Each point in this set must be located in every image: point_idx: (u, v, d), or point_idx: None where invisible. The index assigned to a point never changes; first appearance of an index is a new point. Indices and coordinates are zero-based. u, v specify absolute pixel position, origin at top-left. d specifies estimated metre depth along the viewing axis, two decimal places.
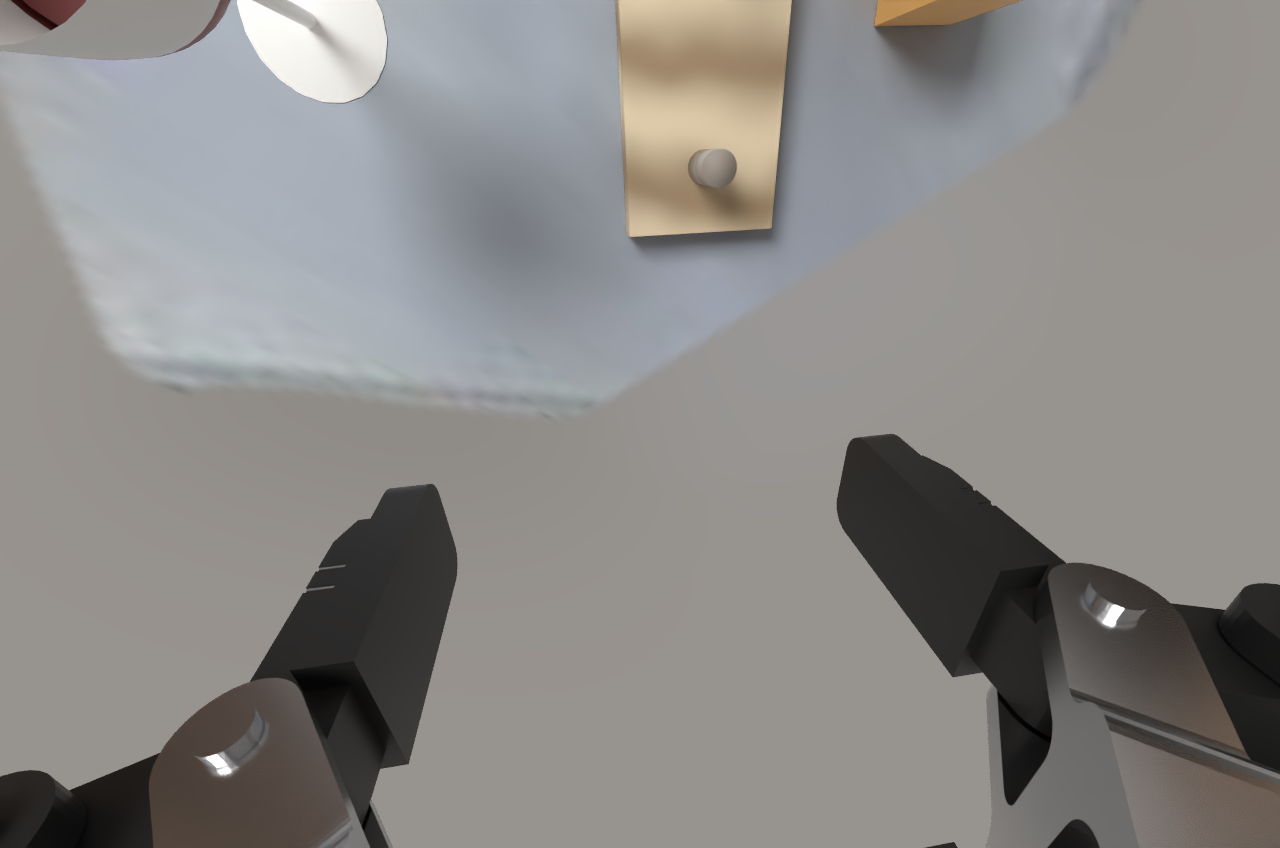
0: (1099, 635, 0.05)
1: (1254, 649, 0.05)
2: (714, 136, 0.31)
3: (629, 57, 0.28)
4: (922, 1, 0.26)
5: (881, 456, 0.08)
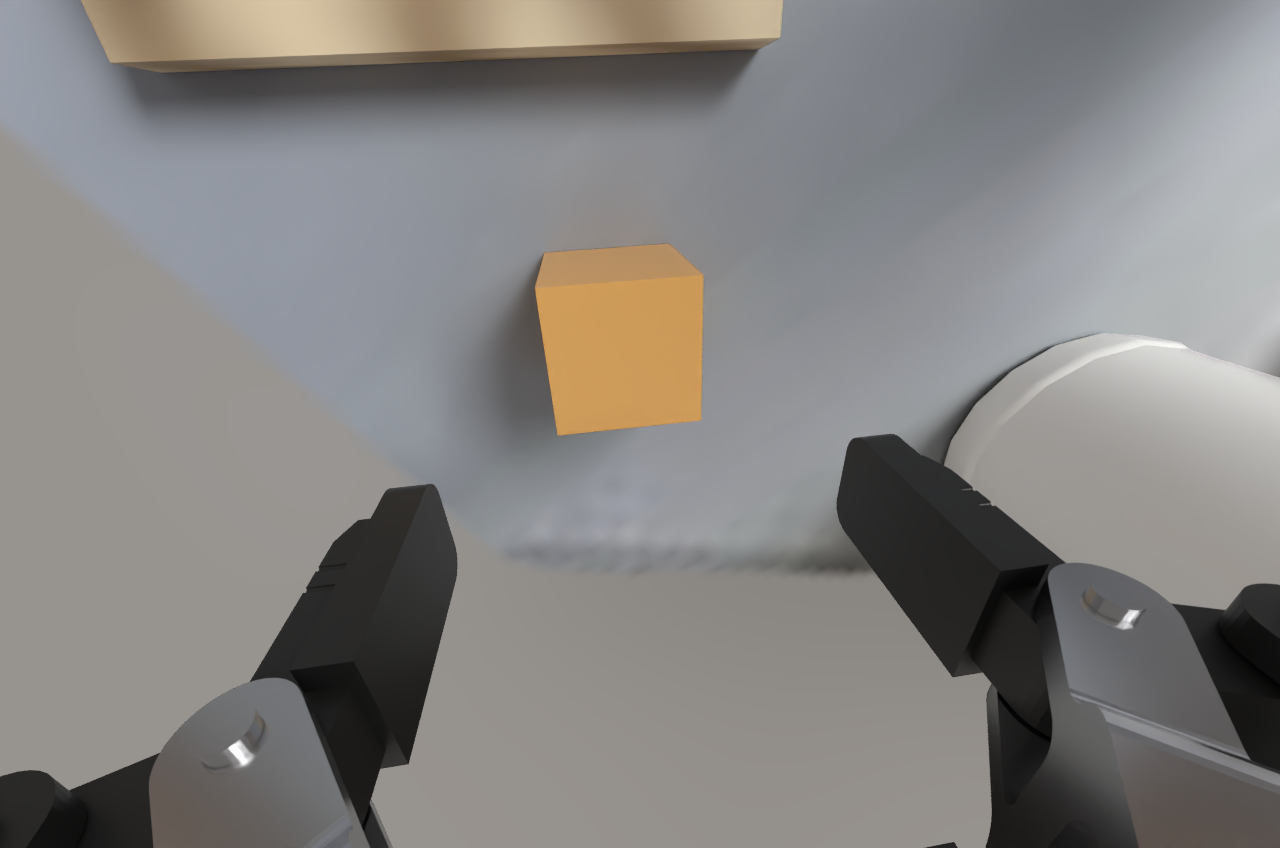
0: (1099, 635, 0.05)
1: (1253, 649, 0.05)
2: None
3: None
4: (543, 278, 0.16)
5: (881, 456, 0.08)
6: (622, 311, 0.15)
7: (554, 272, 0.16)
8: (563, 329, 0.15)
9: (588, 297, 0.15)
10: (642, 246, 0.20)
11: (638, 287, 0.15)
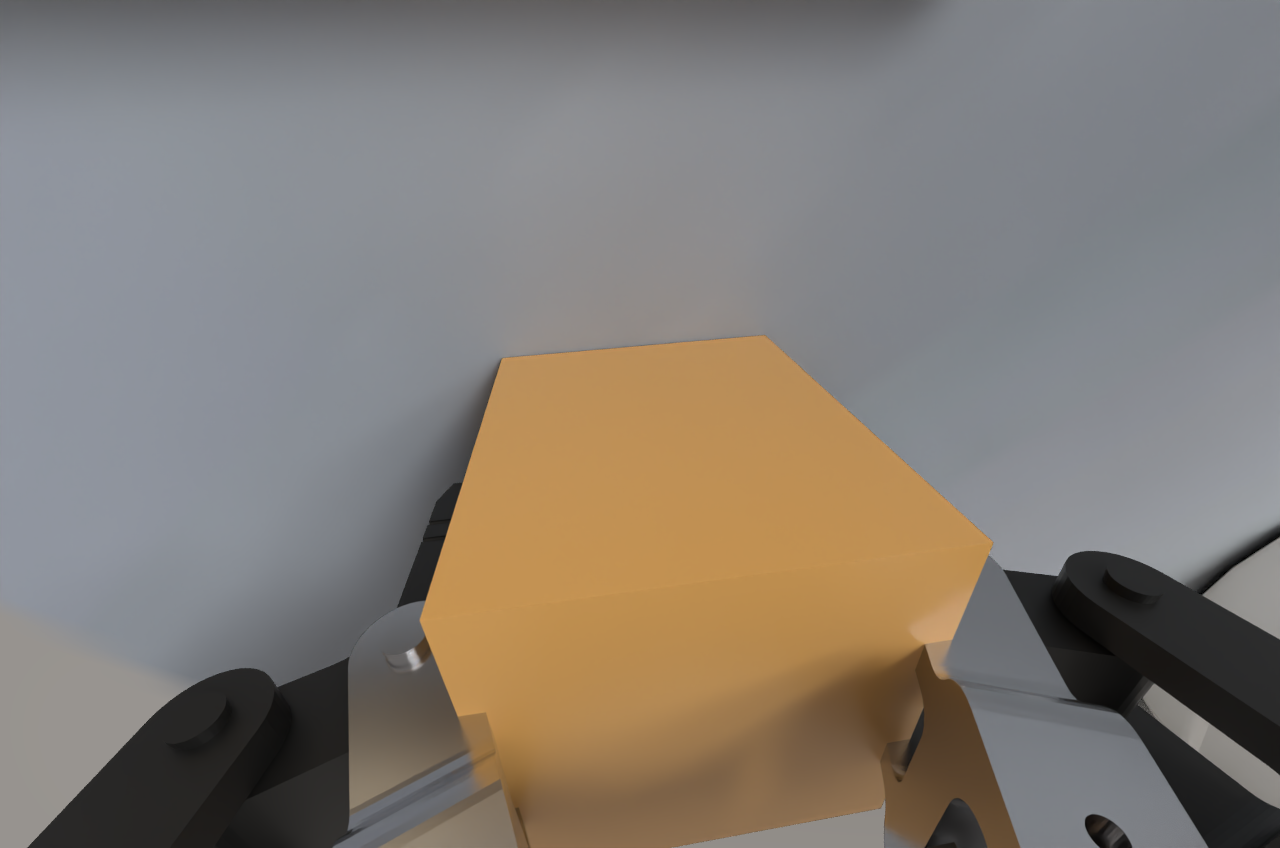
0: None
1: (1082, 617, 0.06)
2: None
3: None
4: (470, 517, 0.05)
5: None
6: (719, 647, 0.05)
7: (509, 474, 0.06)
8: (528, 703, 0.05)
9: (611, 626, 0.04)
10: (711, 344, 0.09)
11: (781, 588, 0.04)
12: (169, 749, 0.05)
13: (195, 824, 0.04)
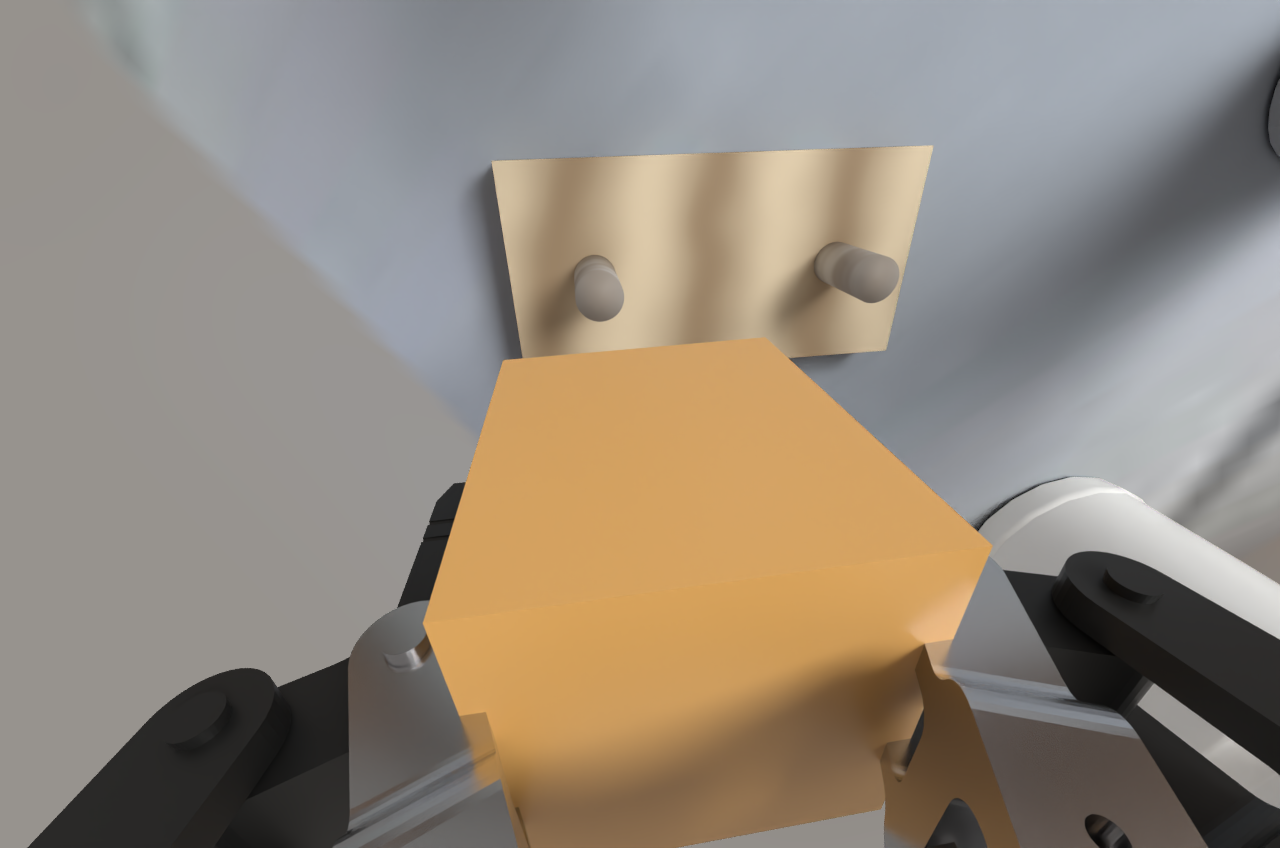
0: None
1: (1082, 617, 0.06)
2: (630, 288, 0.24)
3: (718, 164, 0.22)
4: (473, 520, 0.05)
5: None
6: (720, 649, 0.05)
7: (510, 476, 0.06)
8: (530, 705, 0.05)
9: (613, 629, 0.04)
10: (711, 346, 0.09)
11: (780, 591, 0.04)
12: (169, 749, 0.05)
13: (195, 824, 0.04)
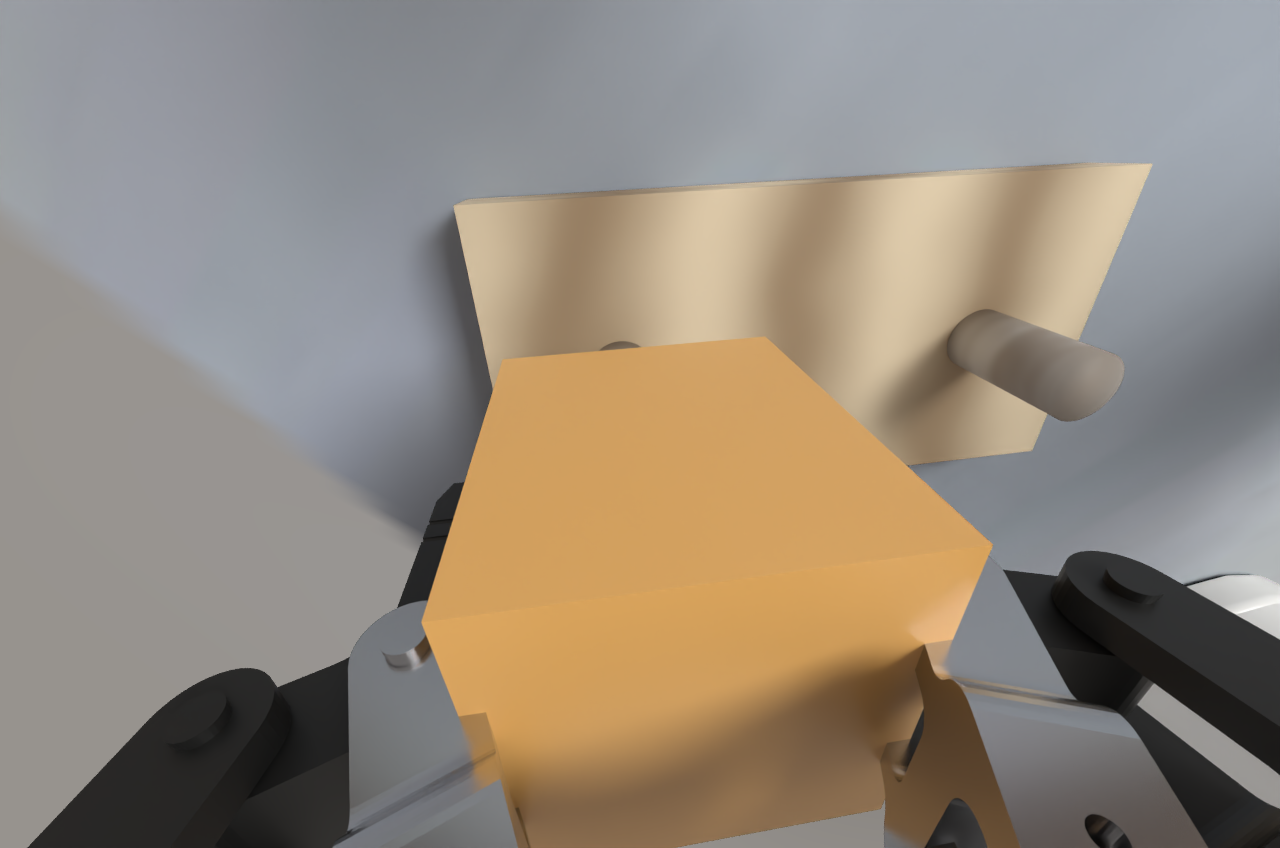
0: None
1: (1081, 617, 0.06)
2: None
3: (819, 201, 0.13)
4: (471, 519, 0.05)
5: None
6: (719, 649, 0.05)
7: (510, 475, 0.06)
8: (529, 704, 0.05)
9: (612, 628, 0.04)
10: (711, 345, 0.09)
11: (781, 591, 0.04)
12: (169, 749, 0.05)
13: (198, 823, 0.04)
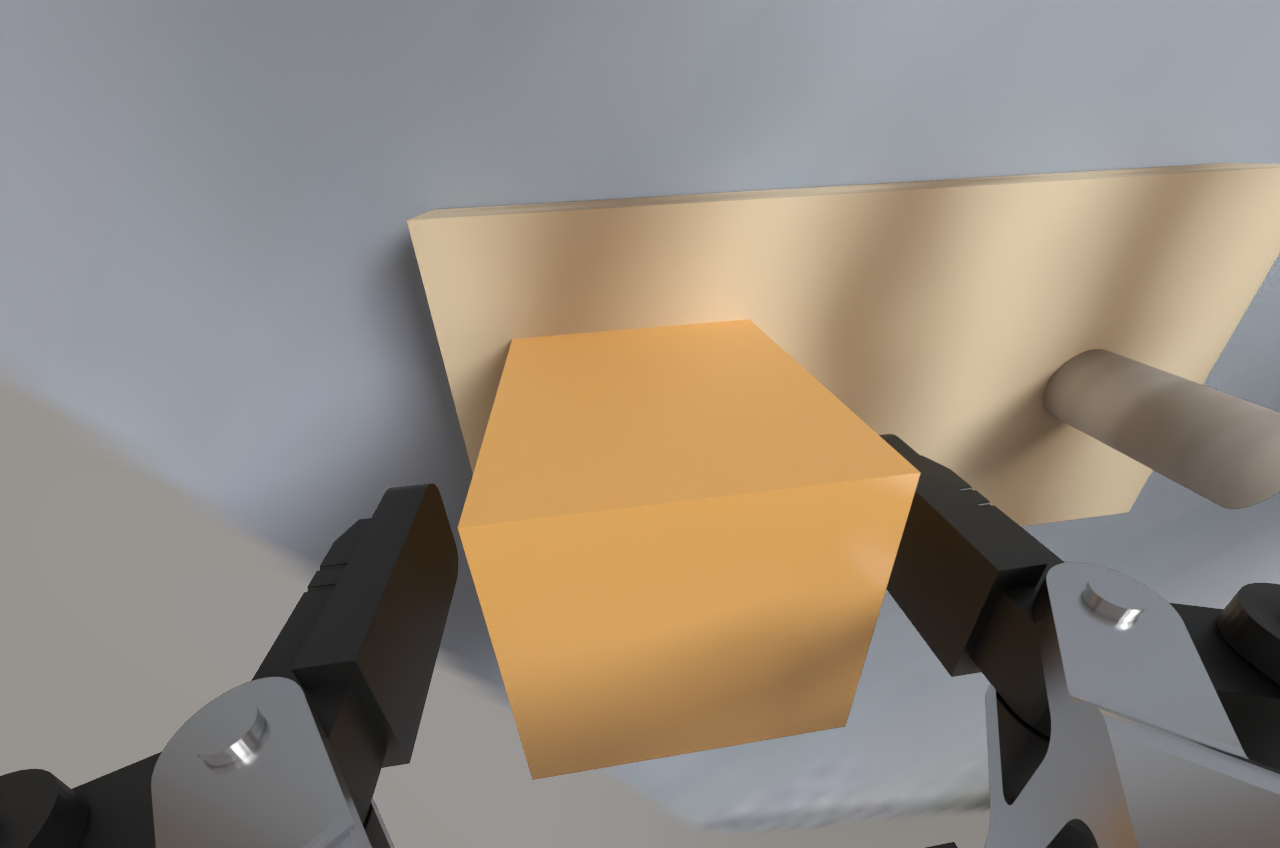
0: (1097, 634, 0.05)
1: (1250, 649, 0.05)
2: None
3: (900, 214, 0.10)
4: (493, 458, 0.06)
5: None
6: (698, 561, 0.06)
7: (523, 427, 0.07)
8: (542, 607, 0.06)
9: (610, 538, 0.05)
10: (700, 326, 0.10)
11: (747, 509, 0.05)
12: None
13: None
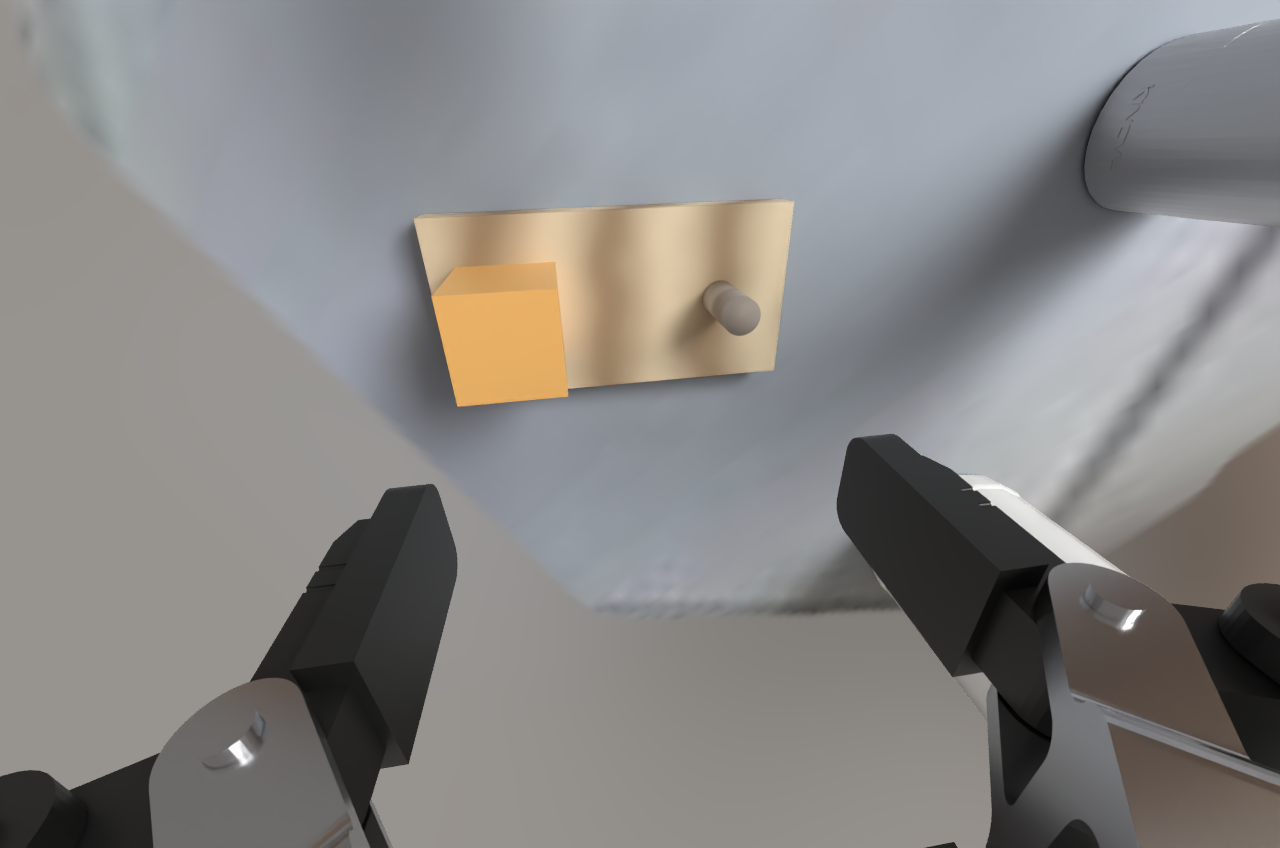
0: (1099, 635, 0.05)
1: (1254, 649, 0.05)
2: None
3: (610, 219, 0.25)
4: (442, 288, 0.21)
5: (881, 456, 0.08)
6: (498, 314, 0.21)
7: (452, 284, 0.22)
8: (455, 326, 0.21)
9: (472, 303, 0.21)
10: (533, 263, 0.26)
11: (509, 297, 0.21)
12: None
13: None
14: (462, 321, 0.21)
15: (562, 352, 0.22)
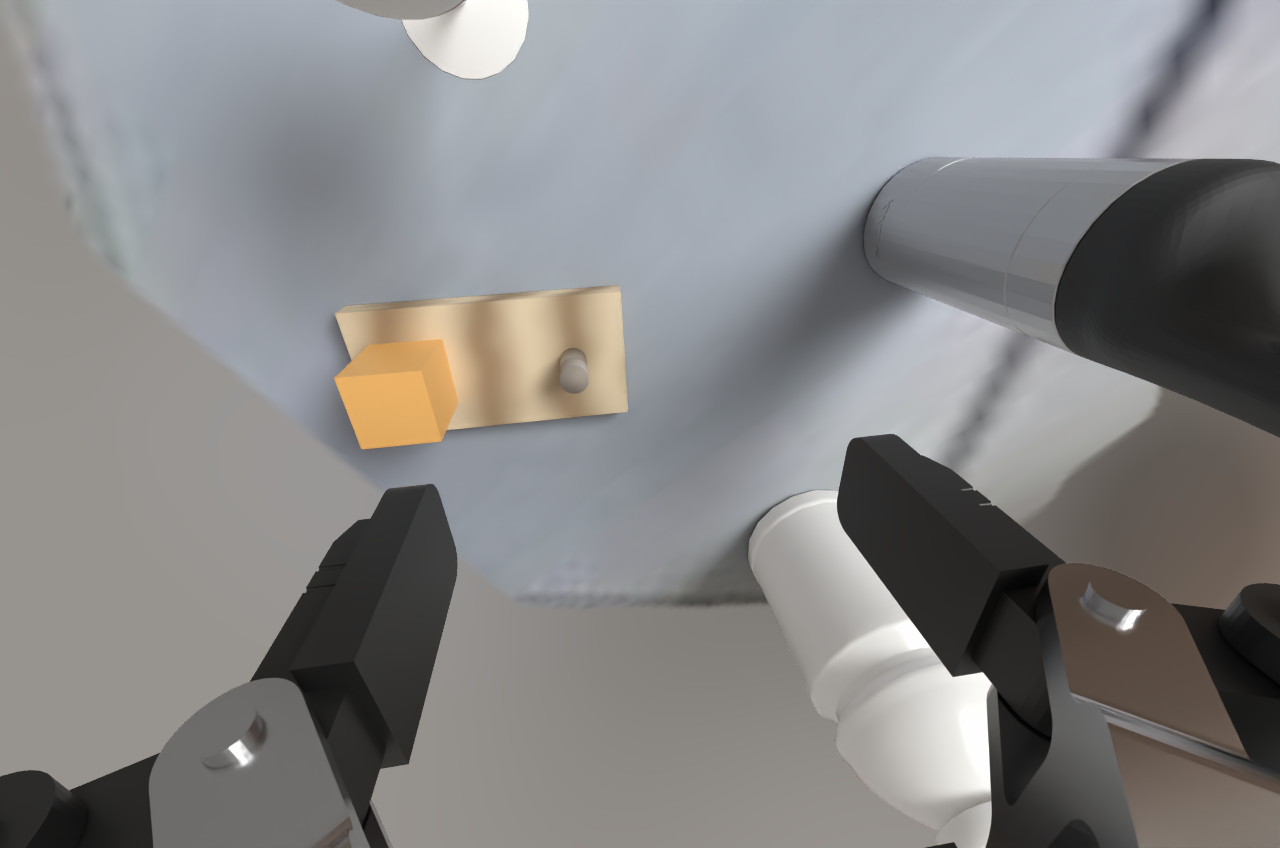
0: (1099, 635, 0.05)
1: (1253, 649, 0.05)
2: None
3: (480, 308, 0.35)
4: (345, 369, 0.31)
5: (881, 456, 0.08)
6: (382, 387, 0.30)
7: (355, 364, 0.32)
8: (353, 396, 0.30)
9: (363, 381, 0.30)
10: (425, 341, 0.35)
11: (388, 376, 0.30)
12: None
13: None
14: (357, 393, 0.30)
15: (432, 411, 0.32)
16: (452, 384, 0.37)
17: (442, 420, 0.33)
